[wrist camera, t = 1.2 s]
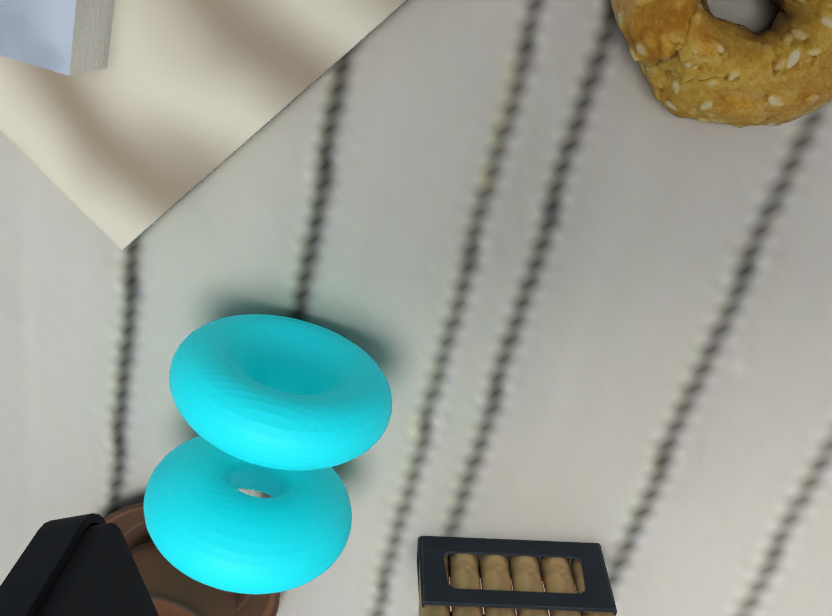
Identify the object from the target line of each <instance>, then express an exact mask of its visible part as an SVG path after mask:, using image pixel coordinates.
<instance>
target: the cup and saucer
mask: <svg viewBox="0 0 832 616" xmlns="http://www.w3.org/2000/svg"><path fill="white" fill-rule="evenodd" d="M104 519H105V521H106V523H115V524H116V525H117V526H118V527H119V528H120V530H121V532H122V534H123V536H124V538H125V541H126V543H127V545H128V547H129V550H130V552H131V554H132V556H133V559H134V561H135V563H136V565H137V568H138V570H139V572H140V574H141V577H142V579H143V581H144V583H145V586H146V588H147V590H148V592H149V595H150V597H151V599H152V601H153V604H154V606H155V608H156V610H157V613H158V615H159V616H276V614H277V611H278V606H279V597H280V592H277V593H269V594H243V593H235V592H229V591H224V590H221V589H217V588H214V587H211V586H208V585H205V584H203V583H201V582H198V581H196V580H194V579H192V578H190V577H189V576H187V575H185V574H184V573H182V572H181V571H179V570H178V569H177V568H175V567H174V566H173V565H172V564H171V563H170V562H169V561H168V560H167V559H166V558H165V557H164V556H163V555H162V554H161V552H160V551H159V550H158V549H157V547H156V545H155V544H154V542H153V540H152V538H151V537H150V534H149V532H148V530H147V526H146V523H145V517H144V503H139V504H134V505H131V506H128V507H125V508H122V509H120V510H117V511H115V512H113V513H112V514H110V515H108V516H106V517H105V518H104Z"/></svg>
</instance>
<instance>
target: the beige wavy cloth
mask: <svg viewBox="0 0 832 616" xmlns="http://www.w3.org/2000/svg"><path fill="white" fill-rule="evenodd" d="M406 1H407V0H115V3H114V11H113V20H112V29H111V37H110V46H109V55H108V64H107V68H106V69H101V70H95V71H90V72H85V73H80V74H75V75H70V76H68V75H65V74H62V73H58V72H55V71H51V70H48V69H44V68H41V67H38V66H34V65H31V64H27V63H24V62H20V61H17V60H14V59H10V58H7V57H3V56H0V130H1V131H2V132H3V133H4V134H5V135H6V136H7V137H8V138H9V139H10V140H11V141H12V142H13V143H14V144H15V145H16V146H17V147H18V148H19V149H20V150H21V151H22V152H23V153H24V154H25V155H26V156H27V157H28V158H29V159H30V160H31V161H32V162H33V163H34V164H35V165H36V166H37V167H38V168H39V169H40V170H41V171H42V172H43V173H44V174H45V175H46V176H47V177H48V178H49V179H50V180H51V181H52V182H53V183H54V184H55V185H56V186H57V187H58V188H59V189H60V190H61V191H63V192H64V193H65V194H66V195H67V196H68V197H69V198H70V199H71V200H72V201H73V202H74V203H75V204H76V205H77V206H78V207H79V208H80V209H81V210H82V211H83V212H84V213H85V214H86V215H87V216H88V217H89V218H90V219H91V220H92V221H93V222H94V223H95V224H96V225H97V226H98V227H99V228H100V229H101V230H102V231H103V232H104V233H105V234H106V235H107V236H108V237H109V238H110V239H111V240H112V241H113V242H114V243H115V244H116V245H117V246H118V247H119V248H120V249H121V250H123V249H124V248H125V247H126V246H128V245H129V244H130V243H131V242H133V241H134V240H135V239H136V238H137V237H138V236H139V235H141V234H142V233H143V232H144V231H145V230H146V229H147V228H149V227H150V226H151V225H152V224H153V223H154V222H155V221H157V220H158V219H159V218H160V217H161V216H162V215H163V214H165V213H166V212H167V211H168V210H169V209H170V208H171V207H172V206H174V205H175V204H176V203H177V202H178V201H179V200H180V199H182V198H183V197H184V196H185V195H186V194H187V193H188V192H190V191H191V190H192V189H193V188H194V187H195V186H196V185H198V184H199V183H200V182H201V181H202V180H203V179H204V178H206V177H207V176H208V175H209V174H210V173H211V172H212V171H213V170H215V169H216V168H217V167H218V166H219V165H220V164H221V163H223V162H224V161H225V160H226V159H227V158H228V157H229V156H231V155H232V154H233V153H234V152H235V151H236V150H237V149H239V148H240V147H241V146H242V145H243V144H244V143H245V142H247V141H248V140H249V139H250V138H251V137H252V136H253V135H254V134H256V133H257V132H258V131H259V130H260V129H261V128H262V127H264V126H265V125H266V124H267V123H268V122H269V121H270V120H272V119H273V118H274V117H275V116H276V115H277V114H278V113H280V112H281V111H282V110H283V109H284V108H285V107H286V106H287V105H289V104H290V103H291V102H292V101H293V100H294V99H295V98H297V97H298V96H299V95H300V94H301V93H302V92H303V91H305V90H306V89H307V88H308V87H309V86H310V85H311V84H313V83H314V82H315V81H316V80H317V79H318V78H319V77H321V76H322V75H323V74H324V73H325V72H326V71H327V70H328V69H330V68H331V67H332V66H333V65H334V64H335V63H336V62H338V61H339V60H340V59H341V58H342V57H343V56H344V55H346V54H347V53H348V52H349V51H350V50H351V49H352V48H354V47H355V46H356V45H357V44H358V43H359V42H360V41H362V40H363V39H364V38H365V37H366V36H367V35H368V34H369V33H371V32H372V31H373V30H374V29H375V28H376V27H377V26H379V25H380V24H381V23H382V22H383V21H384V20H385V19H387V18H388V17H389V16H390V15H391V14H392V13H393V12H395V11H396V10H397V9H398V8H399V7H400V6H401V5H402V4H404V3H405V2H406Z"/></svg>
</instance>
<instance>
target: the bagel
mask: <svg viewBox="0 0 832 616" xmlns="http://www.w3.org/2000/svg"><path fill="white" fill-rule="evenodd" d="M772 1H773V2H775V3H776V4H778V6H779V7H780V9H781V10H780V12H778V13H777V15H776V17H775V19H774V21H773V24H772V26H771V28H770V29H767V30H765V31H762V32H761V33H759V34H754V33H753V32H752V31H750V30H749V29H748V28H746V27H745V26H744V25H740V24H735V23H732V22H728V21H726V20H722V19H719V18H716V17H714V16H713V15H712V13H711V12H710V9H709V7H708V5H707V2H706V0H610V2H611V4H612V8H613V11H614V16H615V19H616V21H617V25H618V27H619V28H620V30H621V32H622V33H623V35H624V36H625V38H626V40H627V42H628V44H629V51H630V54H631V56H632V58H633V59H634V60H635V61H638V62H639V66H640V69H641V71H642V73H643V74H644V75H645V77H646V78H647V80H648V82H649V84H650V86H651V88H652V90H653V93H654V96H655V98H656V99H657V100H659V101H661V103H662V104H663V105H664V106H665V107H666V108H667V109H668V110H669V111H670V112H671V113H672V114H674V115H675V116H677V117H681V118H694V119H698V120H699V121H701V122H706V123H710V122H713V123H723V124H730V125H734V126H736V127H740V128H741V127H744V126H749V125H768V126H773V125H775V126H777V125H780V124H782V123H786V122H789V121H792V120H795V119H797V118H799V117H801V116H803V115H805V114H807V113H810V112H812V111H813V110H815V109H818V108H820V107H821V106H823V105H825V104H826V103H828V102H829V101H831V100H832V0H772Z"/></svg>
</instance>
